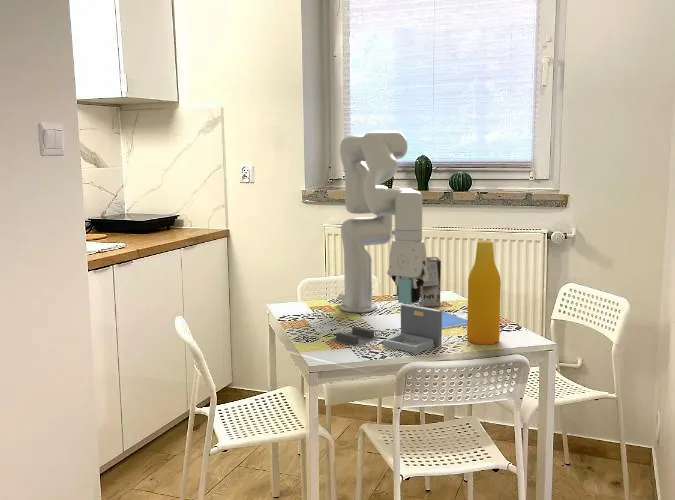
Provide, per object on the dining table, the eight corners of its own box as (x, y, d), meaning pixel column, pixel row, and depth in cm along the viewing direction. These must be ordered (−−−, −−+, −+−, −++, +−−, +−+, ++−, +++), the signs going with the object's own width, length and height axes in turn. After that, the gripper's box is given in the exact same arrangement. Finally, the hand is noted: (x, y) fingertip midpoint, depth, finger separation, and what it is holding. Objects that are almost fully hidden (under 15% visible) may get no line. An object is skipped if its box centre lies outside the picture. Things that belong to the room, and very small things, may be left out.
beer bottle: (505, 340, 198) (508, 241, 193) (486, 347, 192) (488, 245, 187) (479, 333, 205) (481, 238, 200) (460, 340, 199) (461, 241, 194)
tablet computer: (473, 325, 216) (473, 321, 216) (441, 331, 210) (441, 327, 210) (436, 312, 233) (436, 308, 232) (406, 317, 227) (406, 313, 226)
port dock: (380, 346, 194) (380, 312, 192) (403, 336, 203) (403, 303, 201) (419, 354, 186) (419, 319, 184) (441, 344, 195) (441, 310, 193)
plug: (398, 302, 191) (398, 274, 189) (406, 299, 194) (406, 272, 192) (410, 304, 188) (410, 276, 187) (418, 301, 191) (418, 273, 190)
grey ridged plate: (328, 341, 200) (328, 332, 199) (352, 332, 208) (352, 324, 208) (358, 347, 193) (358, 339, 192) (381, 338, 201) (381, 330, 201)
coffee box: (440, 306, 238) (441, 260, 236) (422, 306, 238) (422, 261, 236) (437, 300, 247) (437, 256, 245) (419, 300, 247) (419, 256, 245)
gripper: (375, 235, 190) (376, 298, 193) (427, 239, 180) (426, 307, 183) (391, 232, 196) (391, 294, 199) (441, 236, 186) (441, 301, 189)
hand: (408, 299), depth 191 cm, fingers closed on plug, 4 cm apart
